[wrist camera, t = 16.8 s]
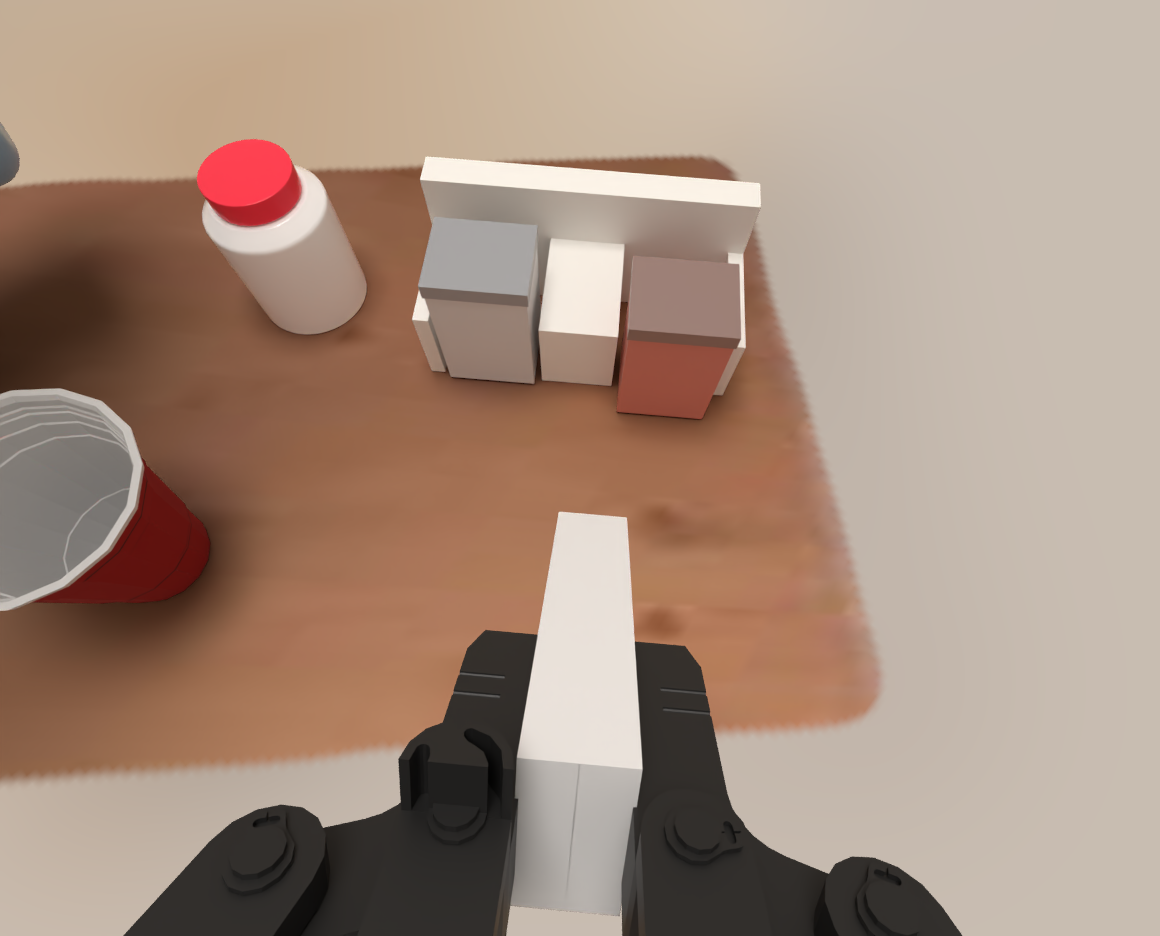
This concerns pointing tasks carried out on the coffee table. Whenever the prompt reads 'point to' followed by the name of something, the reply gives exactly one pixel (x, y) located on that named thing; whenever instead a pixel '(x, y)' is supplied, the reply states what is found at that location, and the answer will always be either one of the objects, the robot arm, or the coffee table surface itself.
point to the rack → (591, 245)
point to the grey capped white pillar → (484, 297)
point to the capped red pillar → (677, 335)
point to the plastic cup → (86, 508)
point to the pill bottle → (281, 236)
